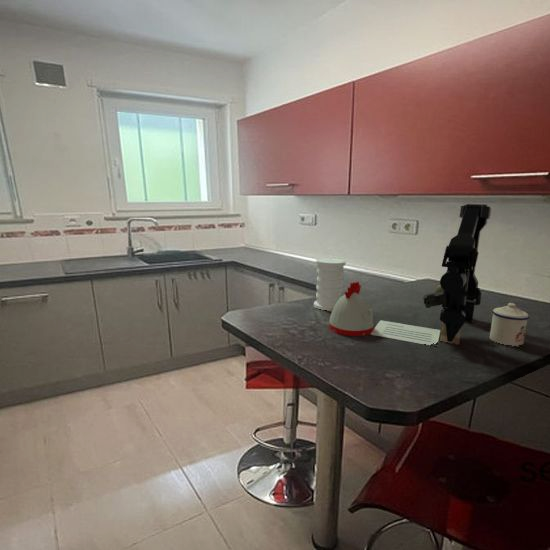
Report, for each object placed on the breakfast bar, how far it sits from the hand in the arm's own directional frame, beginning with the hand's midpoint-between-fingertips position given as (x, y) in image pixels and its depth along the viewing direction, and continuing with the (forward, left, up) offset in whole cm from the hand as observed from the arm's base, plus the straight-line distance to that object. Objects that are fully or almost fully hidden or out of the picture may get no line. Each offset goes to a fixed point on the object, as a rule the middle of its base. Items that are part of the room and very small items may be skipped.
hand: (450, 336), depth 109 cm
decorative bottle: (+3, -58, -2) cm, 58 cm away
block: (0, 0, -1) cm, 1 cm away
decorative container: (+43, -14, -1) cm, 45 cm away
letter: (+12, 0, -1) cm, 13 cm away
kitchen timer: (+29, +5, -1) cm, 29 cm away
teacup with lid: (-15, -9, -1) cm, 18 cm away
